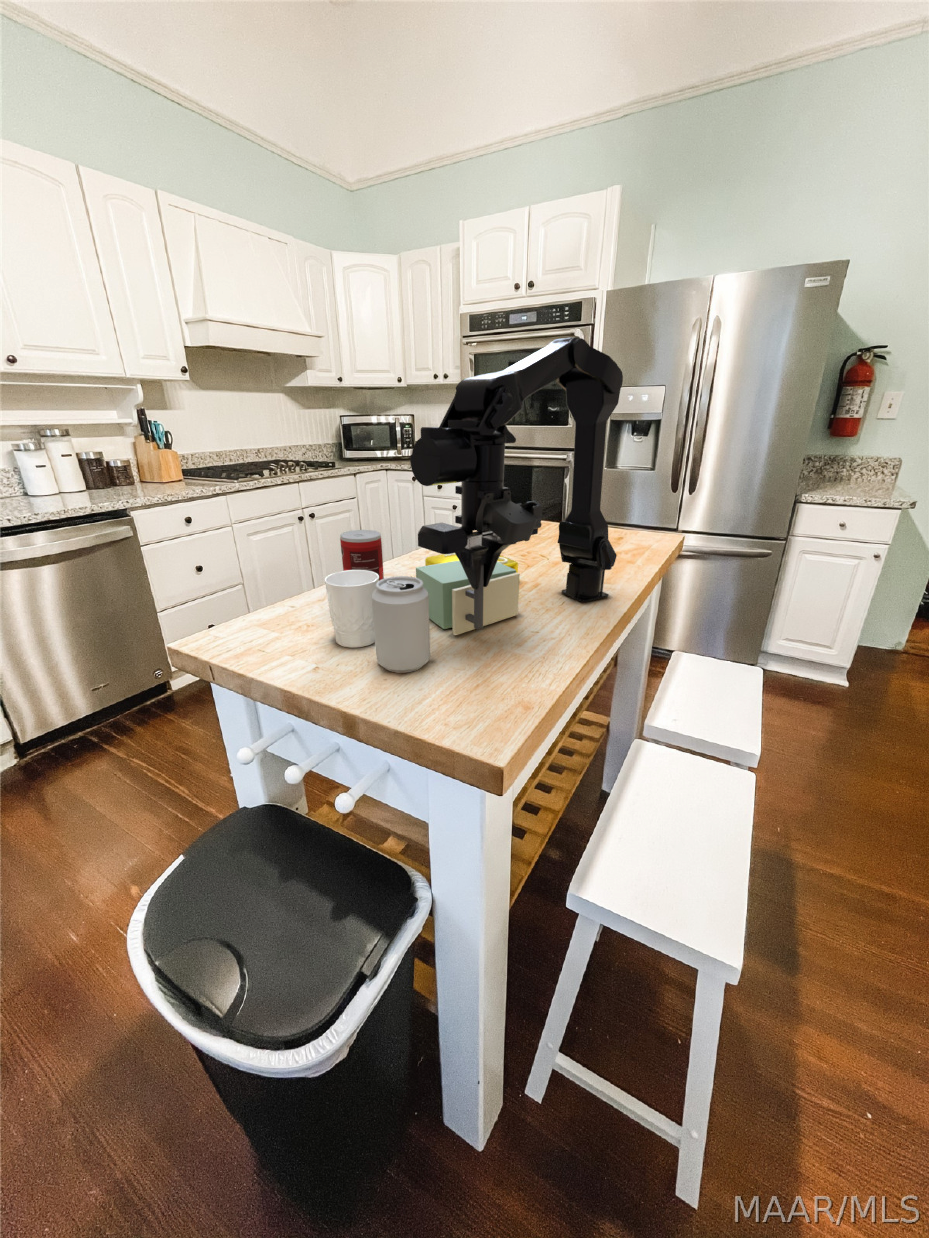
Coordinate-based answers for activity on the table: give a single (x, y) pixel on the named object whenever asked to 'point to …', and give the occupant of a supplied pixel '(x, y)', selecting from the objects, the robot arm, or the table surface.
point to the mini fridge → (448, 587)
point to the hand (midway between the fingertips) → (479, 587)
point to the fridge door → (484, 603)
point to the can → (401, 623)
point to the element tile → (453, 557)
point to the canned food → (362, 551)
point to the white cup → (352, 606)
